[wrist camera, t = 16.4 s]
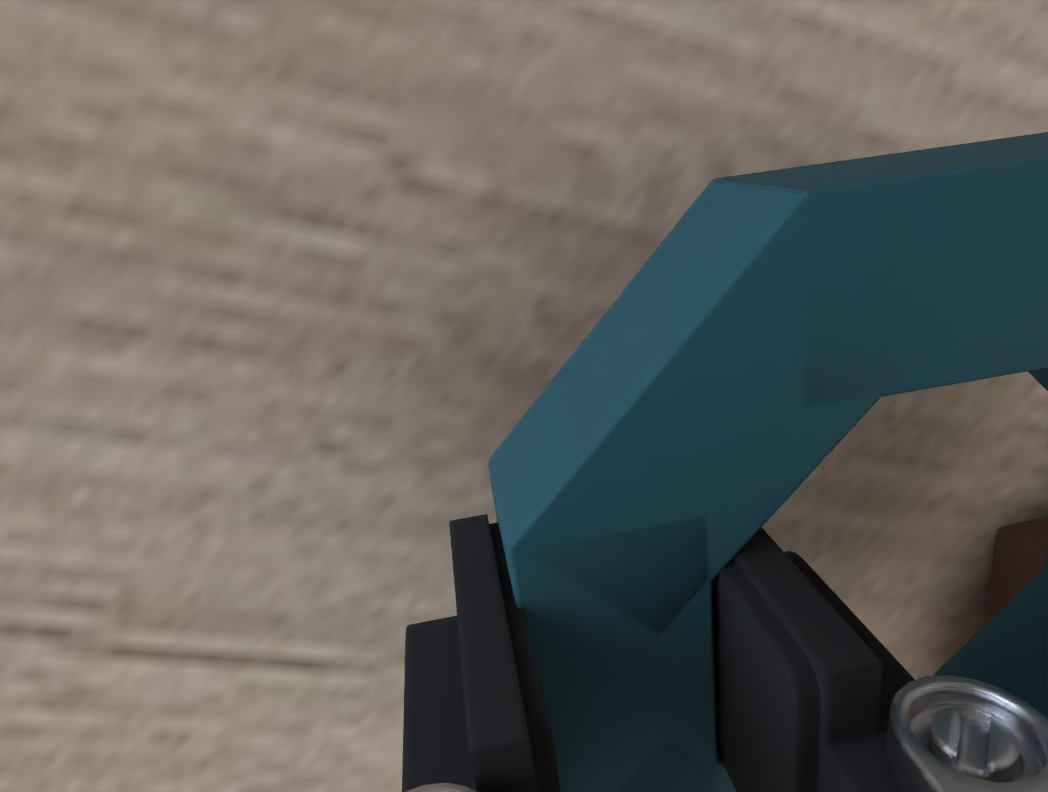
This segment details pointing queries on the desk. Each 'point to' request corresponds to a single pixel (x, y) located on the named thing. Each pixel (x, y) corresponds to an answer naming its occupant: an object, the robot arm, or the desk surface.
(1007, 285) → the teal ring
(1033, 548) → the peg stand
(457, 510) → the desk surface
